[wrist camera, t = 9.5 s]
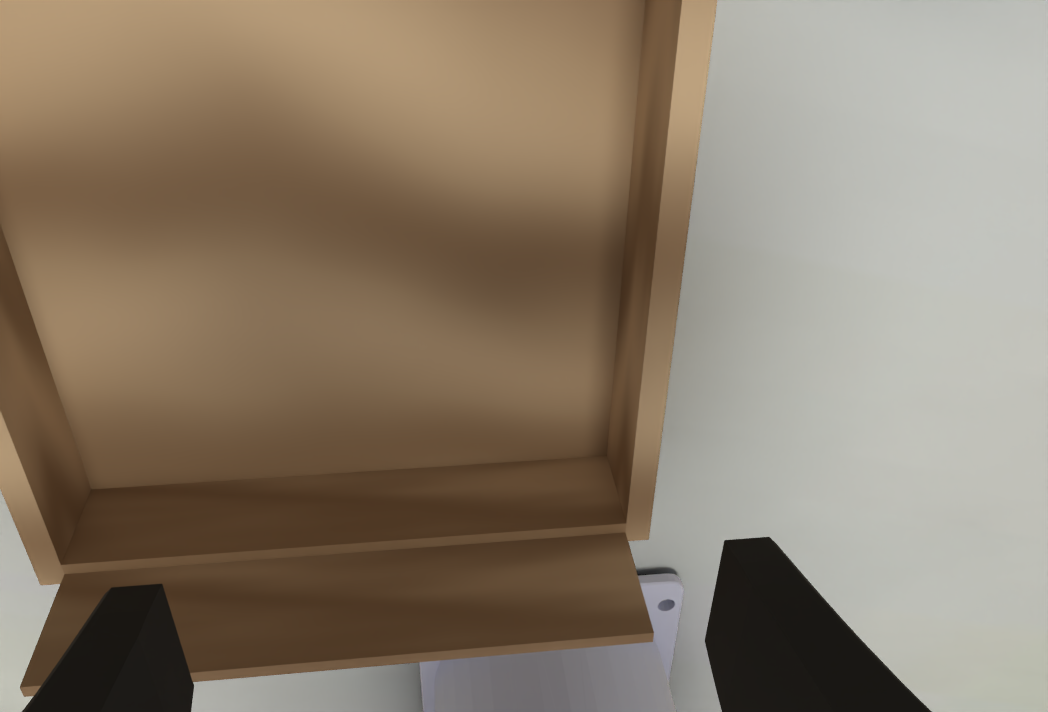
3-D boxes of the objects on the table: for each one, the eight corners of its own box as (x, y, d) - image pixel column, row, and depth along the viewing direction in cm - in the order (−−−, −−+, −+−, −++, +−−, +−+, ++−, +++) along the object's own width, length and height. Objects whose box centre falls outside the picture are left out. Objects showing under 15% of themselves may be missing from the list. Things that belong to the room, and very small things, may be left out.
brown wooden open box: (623, 459, 25) (679, 639, 20) (78, 495, 23) (-8, 699, 18) (687, -194, 16) (814, -160, 11) (-169, -201, 15) (-451, -166, 10)
